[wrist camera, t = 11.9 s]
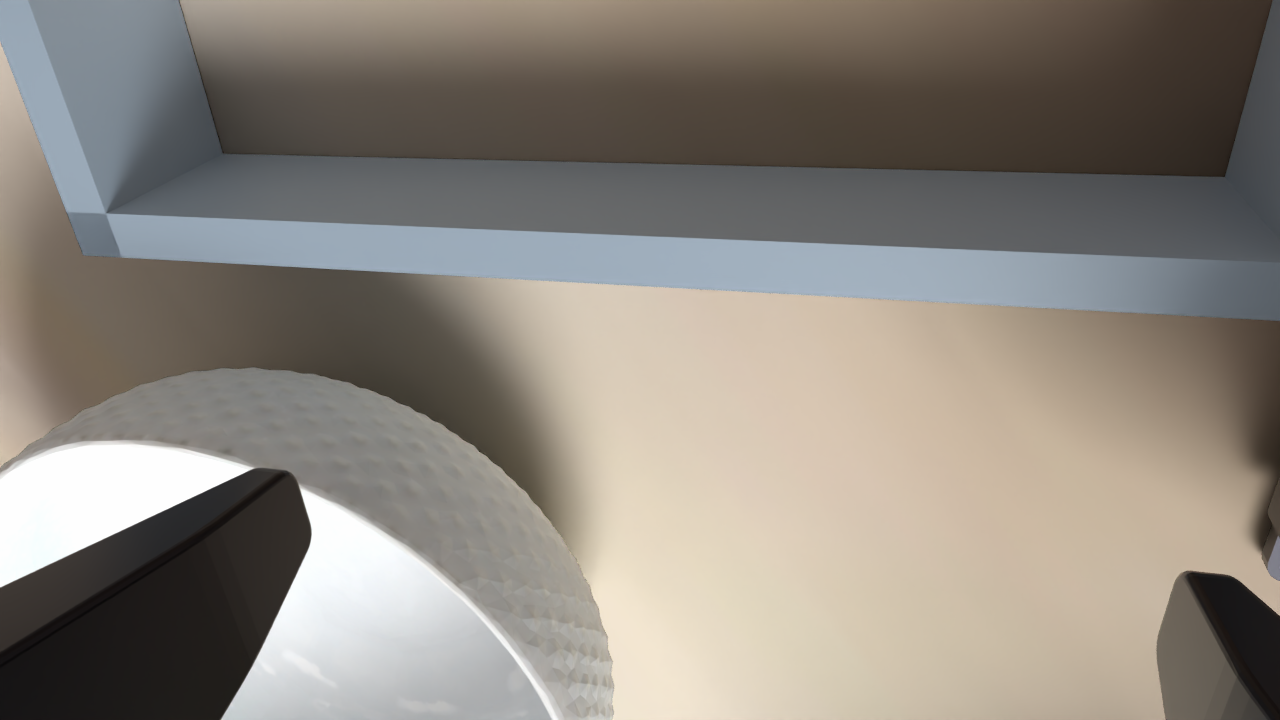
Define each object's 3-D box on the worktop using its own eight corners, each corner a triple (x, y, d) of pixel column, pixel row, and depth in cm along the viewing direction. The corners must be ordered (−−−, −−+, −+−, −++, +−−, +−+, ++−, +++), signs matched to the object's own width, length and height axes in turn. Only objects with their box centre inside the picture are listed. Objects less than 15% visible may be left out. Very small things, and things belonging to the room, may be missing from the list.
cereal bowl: (86, 238, 25) (-163, 371, 19) (684, 349, 22) (605, 543, 17) (199, 660, 34) (52, 838, 28) (636, 776, 31) (574, 1000, 26)
